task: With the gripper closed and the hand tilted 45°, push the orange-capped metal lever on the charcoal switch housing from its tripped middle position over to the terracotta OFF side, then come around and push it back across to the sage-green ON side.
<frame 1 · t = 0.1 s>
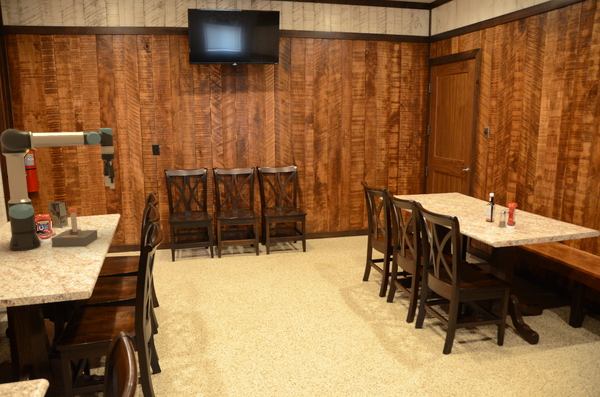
hand: (109, 187, 294), 28 cm above the table, tool pointing down, fingers open, 13 cm apart
lever: (73, 220, 270), point 13 cm above the table, hinge at 0.0°
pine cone: (33, 232, 297), on the table
coffee box: (59, 226, 314), on the table
switch housing: (75, 242, 272), on the table
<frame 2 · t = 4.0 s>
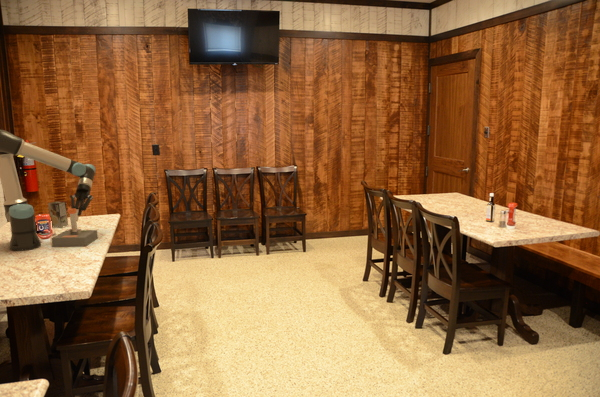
hand: (75, 220, 271), 13 cm above the table, tool tilted 45°, fingers closed
lever: (73, 221, 269), point 13 cm above the table, hinge at 6.4°, touching gripper
everything else where it was.
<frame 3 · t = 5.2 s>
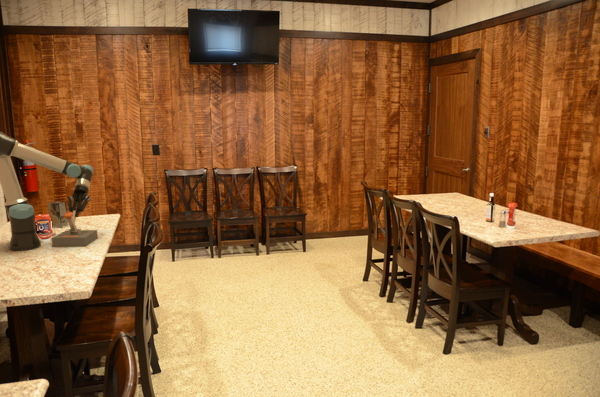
hand: (72, 221, 268), 13 cm above the table, tool tilted 45°, fingers closed
lever: (71, 223, 267), point 12 cm above the table, hinge at 31.1°, touching gripper
everything else where it was.
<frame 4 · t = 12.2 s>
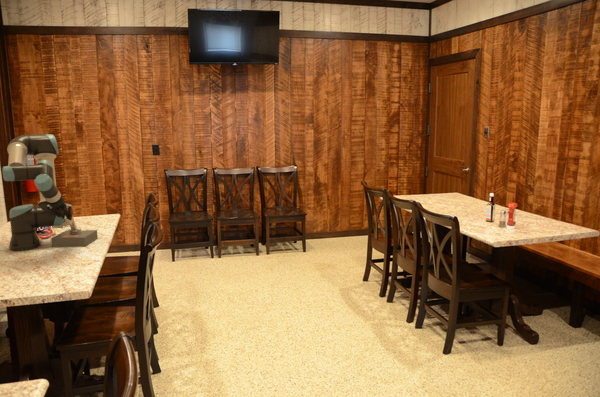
hand: (70, 222, 264), 13 cm above the table, tool tilted 45°, fingers closed
lever: (71, 223, 267), point 12 cm above the table, hinge at 26.8°, touching gripper
everything else where it was.
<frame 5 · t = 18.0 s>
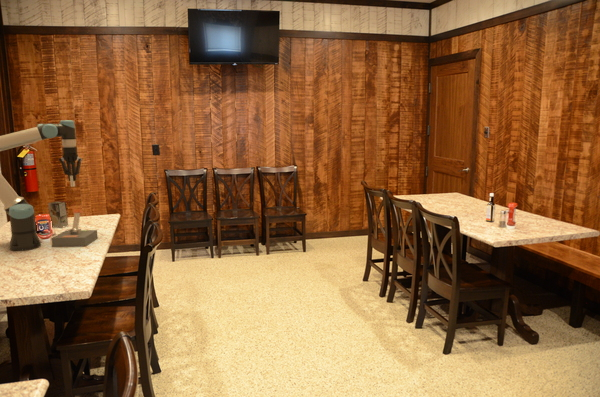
hand: (73, 186, 282), 30 cm above the table, tool pointing down, fingers closed
lever: (76, 221, 273), point 12 cm above the table, hinge at -30.7°
everything else where it was.
at the end: lever at -31° (first picture: +0°) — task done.
